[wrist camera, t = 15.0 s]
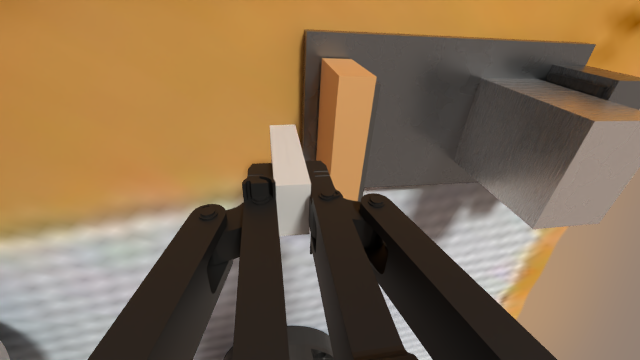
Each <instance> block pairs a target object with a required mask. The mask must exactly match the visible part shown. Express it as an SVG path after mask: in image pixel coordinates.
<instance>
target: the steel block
mask: <svg viewBox="0 0 640 360" xmlns="http://www.w3.org/2000/svg"><path fill="white" fill-rule="evenodd" d="M453 161H454V162H456V163H457V164H458V165H459V166H460V167H461V168H463V169H464V170H465V171H466V172H467V173H468V174H470V175H471V176H472V177H473V178H474V179H475V180H477V181H478V182H479V183H480V184H481V185H482V186H483V187H485V188H486V189H487V190H488V191H489V192H490V193H492V194H493V195H494V196H495V197H496V198H497V199H499V200H500V201H501V202H502V203H503V204H504V205H506V206H507V207H508V208H509V209H510V210H511V211H512V212H514V213H515V214H516V215H517V216H518V217H519V218H521V219H522V220H523V221H524V222H525V223H526V224H528V225H529V226H530V227H531V228H532V229H539V228H551V227H563V226H574V225H587V224H598V223H600V221H601V220H602V219H603V217H604V216H605V214H606V213H607V212H608V210H609V209H610V208H611V206H612V205H613V203H614V202H615V201H616V199H617V198H618V196H619V195H620V194H621V192H622V191H623V190H624V188H625V187H626V185H627V184H628V182H629V181H630V180H631V178H632V177H633V176H634V174H635V173H636V172H637V170H638V168H639V167H640V110H637V109H634V108H631V107H628V106H624V105H621V104H618V103H614V102H611V101H608V100H605V99H601V98H598V97H595V96H592V95H588V94H585V93H582V92H579V91H575V90H572V89H569V88H566V87H562V86H559V85H556V84H552V83H549V82H546V81H543V80H539V79H511V78H481V79H480V82H479V85H478V88H477V91H476V94H475V97H474V100H473V103H472V106H471V109H470V112H469V115H468V118H467V121H466V124H465V127H464V130H463V133H462V136H461V139H460V142H459V145H458V148H457V151H456V154H455V157H454V160H453Z"/></svg>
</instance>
